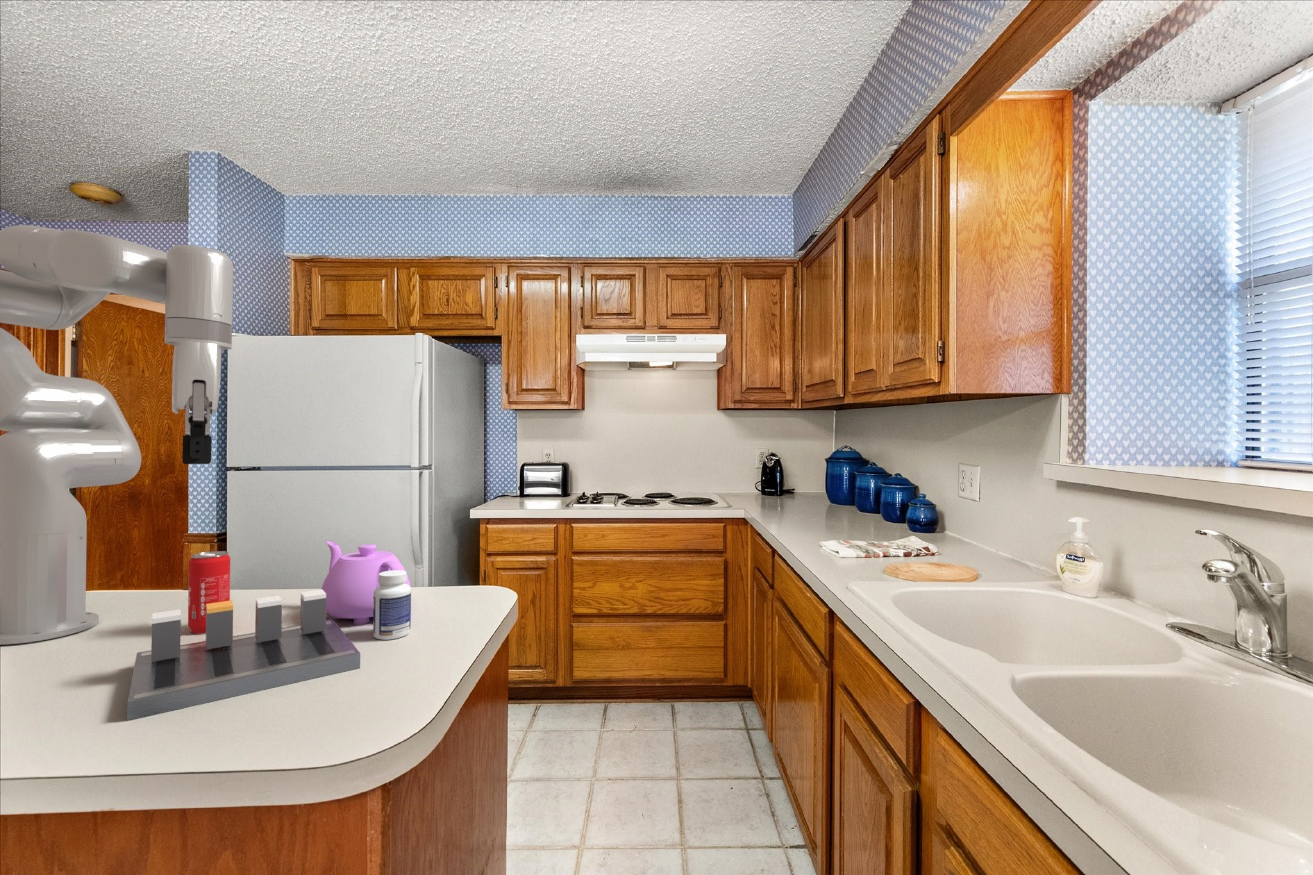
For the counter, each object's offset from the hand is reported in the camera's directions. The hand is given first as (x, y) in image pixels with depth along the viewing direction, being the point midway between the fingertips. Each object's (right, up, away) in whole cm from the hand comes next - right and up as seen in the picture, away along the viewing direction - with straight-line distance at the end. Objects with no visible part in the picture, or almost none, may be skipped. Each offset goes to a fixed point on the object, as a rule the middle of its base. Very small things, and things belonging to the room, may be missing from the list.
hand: (196, 463), depth 82 cm
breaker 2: (+11, -25, -1) cm, 27 cm away
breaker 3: (+15, -25, +3) cm, 29 cm away
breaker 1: (+2, -25, -8) cm, 26 cm away
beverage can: (-5, -27, +9) cm, 29 cm away
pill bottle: (+24, -28, +8) cm, 38 cm away
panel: (+11, -27, -6) cm, 30 cm away
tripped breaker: (+6, -25, -4) cm, 26 cm away
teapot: (+15, -27, +18) cm, 36 cm away
